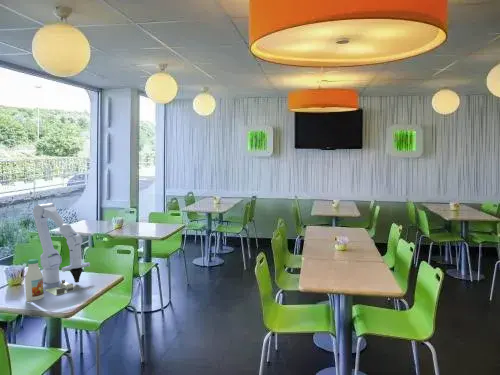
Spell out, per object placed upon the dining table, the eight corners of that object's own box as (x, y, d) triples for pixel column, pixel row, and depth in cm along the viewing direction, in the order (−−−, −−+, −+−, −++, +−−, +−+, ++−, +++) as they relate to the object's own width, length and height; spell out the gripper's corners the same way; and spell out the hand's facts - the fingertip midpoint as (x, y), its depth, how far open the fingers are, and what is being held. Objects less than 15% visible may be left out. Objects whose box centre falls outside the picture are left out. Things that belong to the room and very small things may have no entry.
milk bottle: (25, 303, 206) (23, 262, 204) (26, 298, 213) (24, 258, 211) (43, 301, 209) (41, 260, 207) (44, 296, 216) (42, 257, 215)
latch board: (44, 292, 223) (44, 285, 223) (71, 285, 233) (70, 279, 233) (55, 297, 214) (54, 290, 214) (82, 290, 224) (82, 283, 224)
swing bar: (74, 289, 223) (74, 283, 223) (68, 290, 221) (67, 284, 220) (65, 285, 230) (65, 279, 230) (59, 286, 228) (59, 280, 227)
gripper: (65, 260, 223) (66, 286, 224) (92, 255, 233) (93, 280, 234) (59, 258, 227) (60, 284, 228) (85, 253, 238) (87, 278, 239)
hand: (76, 282), depth 232 cm, fingers closed
